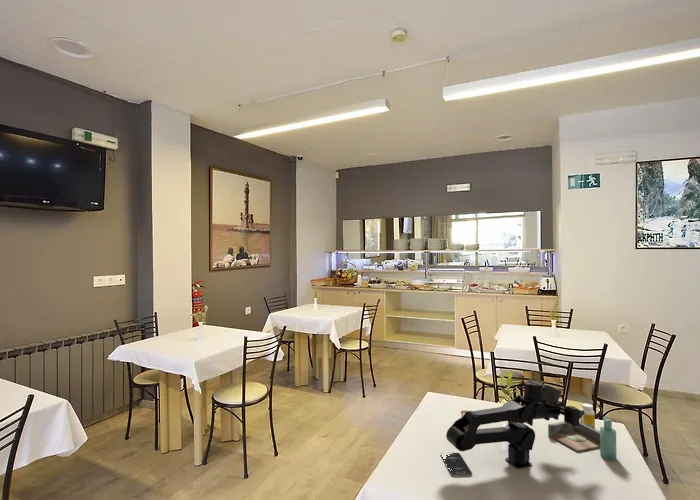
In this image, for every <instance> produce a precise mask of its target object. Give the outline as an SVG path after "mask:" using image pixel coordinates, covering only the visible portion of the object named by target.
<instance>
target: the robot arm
mask: <svg viewBox="0 0 700 500" xmlns="http://www.w3.org/2000/svg"><path fill="white" fill-rule="evenodd" d="M523 389H524V390H523V395H521V394H518V395H517V396H516V397H514V399H513V400H511V401H507V402H505V403H504V404H502V406H499V407H492V408H485V409H478V410H467V412H466V413H465V415H464V416H463V417H462V416H461V417H460V418H458V419H457V420H455V421H454V422H453V423H452V425H451V426H450V427H449V429H447V431H446V435H445V438H446V440H447V441H448V442H449V443H450V444H451V445H452V446H453V447H454V448H455V449H456V450H458V451H459V452H466V451H470V450H473V448H474V447H476V446H477V445H485V444H494V443H506V442H507V443H508V444H507V450H508V452H507V453H508V455H507V457H505V458H504V459H505V461H506V462H508V463H509V464H510V465H512V466H514V468H516V469H521V468H526V467H531V466H533V464H532V463H531V462H530V451H533V447H534V445H535V440H536V432H535V430H534V429H533V428H531V427H533V425H534V420H542V419H543V420H546V421H550V419H553V420H557V421H558V420H559V416H560V415H562V416H563V422H565V423H566V424H568V425H570V426H572V427H578V426H579V422H580V418H581V417H582V416H583V415H584V414H585V411H583V410H581V409H579V408H578V407H575V406H573V405H566V406H565V402H564V401H560V400H559V399H560V396H561V394H562V390H560V389H558V388H556V387H554V386H551V385H549V384H544V383H543V382H541V381H538V380H534V379H533V380H532V379H531V380H530V379H529V380H527V381H525V382H524V383H523ZM564 406H565V407H564ZM501 422H507V425H505V426H501V427H499V426H497V427H487V428H480V426H483V425H488V424H496V423H501ZM525 423H526V424H527V425H526V424H525ZM468 424H469V427H468V429H467V428H464V427H465V426H467V425H468ZM528 425H529V426H528Z"/></svg>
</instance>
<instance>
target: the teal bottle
mask: <svg viewBox="0 0 700 500" xmlns="http://www.w3.org/2000/svg"><path fill="white" fill-rule="evenodd" d="M599 431H600V448H599V451H600V452H599V453H600V454H599V456H600V457H601V458H602V459H604V460H607V461H613V462H615V461H617V458H618V457H617V430H616V429H615V428H613V421H612V420H611V419H610V418H604V419H603V426H600V427H599Z"/></svg>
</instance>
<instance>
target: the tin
mask: <svg viewBox="0 0 700 500" xmlns="http://www.w3.org/2000/svg"><path fill="white" fill-rule="evenodd" d="M467 411H468V410H461V411H460V414H461V417H463V416H464V415H465V413H466V412H467ZM468 427H469V424H468V425H467V426H465V427H464V428H467V429H468Z"/></svg>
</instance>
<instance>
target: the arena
mask: <svg viewBox="0 0 700 500" xmlns="http://www.w3.org/2000/svg"><path fill="white" fill-rule="evenodd" d="M547 427H548V428H547V429H548V430H547V431H548V433H547V434H548V437H550V438H551V439H553V440H554V441H556V442H557V443H558V442H559V444H561V445H564V446H565V447H567V448H569V449H571V450H572V451H574V452H576V453H582V452H586V451H591V450H596V449H600V430H598V429H596V428H595V429H593V428H591V427H589V426H587V425H585V424H583V423H581V422H580V421H579V426H578V427H572V426H570V425H568V424H566V423H565V422H564V421H558V422H555V423H554V422H553V423H548V425H547Z"/></svg>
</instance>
